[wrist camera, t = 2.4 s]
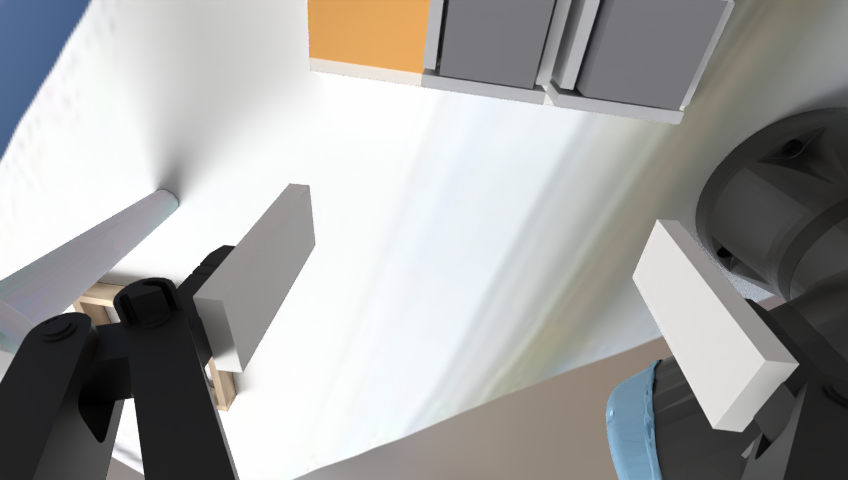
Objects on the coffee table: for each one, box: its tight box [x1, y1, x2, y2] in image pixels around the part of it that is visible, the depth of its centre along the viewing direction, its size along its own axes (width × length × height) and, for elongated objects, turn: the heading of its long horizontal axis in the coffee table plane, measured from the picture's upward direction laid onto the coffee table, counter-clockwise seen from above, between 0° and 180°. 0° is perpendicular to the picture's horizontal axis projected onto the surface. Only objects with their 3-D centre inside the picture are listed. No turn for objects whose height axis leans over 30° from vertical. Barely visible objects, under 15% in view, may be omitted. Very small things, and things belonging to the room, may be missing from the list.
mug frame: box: [72, 282, 236, 411], centre depth 53 cm, size 16×18×2 cm
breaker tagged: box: [439, 0, 555, 89], centre depth 25 cm, size 6×6×4 cm
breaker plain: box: [574, 0, 728, 110], centre depth 25 cm, size 6×6×4 cm
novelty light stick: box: [0, 190, 178, 382], centre depth 31 cm, size 10×10×25 cm
